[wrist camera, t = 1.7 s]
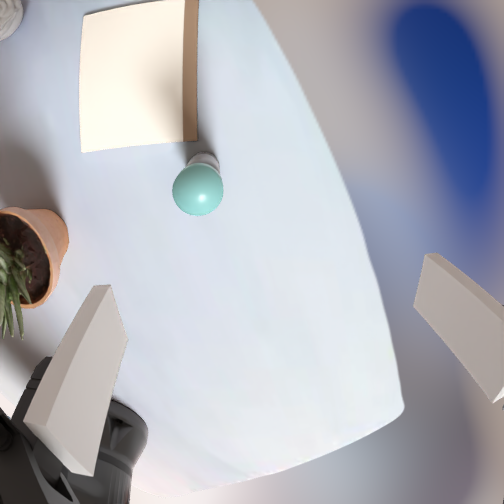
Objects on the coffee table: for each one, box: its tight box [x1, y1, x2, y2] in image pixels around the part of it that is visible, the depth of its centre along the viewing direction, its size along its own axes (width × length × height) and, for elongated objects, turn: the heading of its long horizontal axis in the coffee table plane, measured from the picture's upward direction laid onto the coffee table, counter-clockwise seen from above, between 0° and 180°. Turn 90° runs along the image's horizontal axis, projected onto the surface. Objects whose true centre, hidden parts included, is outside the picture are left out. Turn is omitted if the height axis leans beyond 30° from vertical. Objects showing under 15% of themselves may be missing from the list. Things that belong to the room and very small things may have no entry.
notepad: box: [79, 0, 199, 153], centre depth 22 cm, size 11×14×1 cm
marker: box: [172, 152, 223, 216], centre depth 22 cm, size 3×3×10 cm
